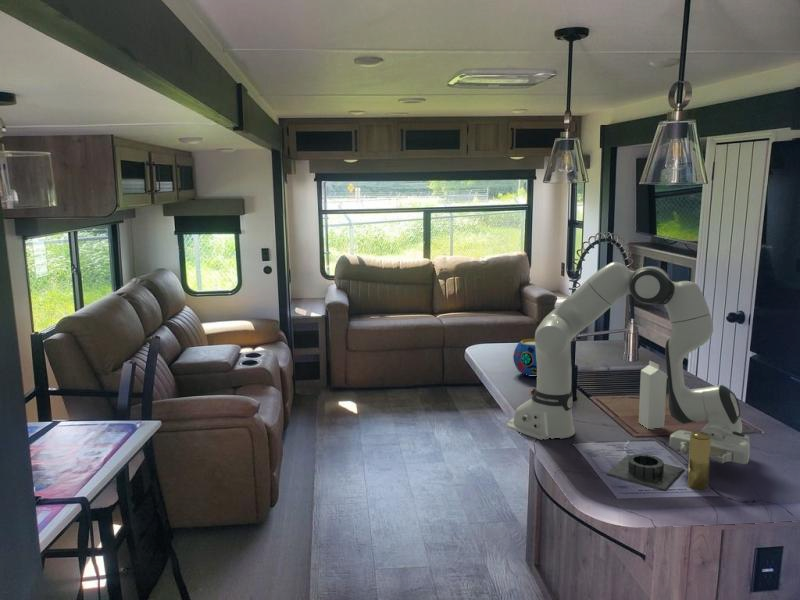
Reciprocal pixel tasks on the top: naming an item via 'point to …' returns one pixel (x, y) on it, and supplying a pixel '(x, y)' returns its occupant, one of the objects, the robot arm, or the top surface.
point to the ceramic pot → (526, 357)
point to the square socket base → (646, 471)
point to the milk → (652, 396)
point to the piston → (699, 460)
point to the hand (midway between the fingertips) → (701, 455)
